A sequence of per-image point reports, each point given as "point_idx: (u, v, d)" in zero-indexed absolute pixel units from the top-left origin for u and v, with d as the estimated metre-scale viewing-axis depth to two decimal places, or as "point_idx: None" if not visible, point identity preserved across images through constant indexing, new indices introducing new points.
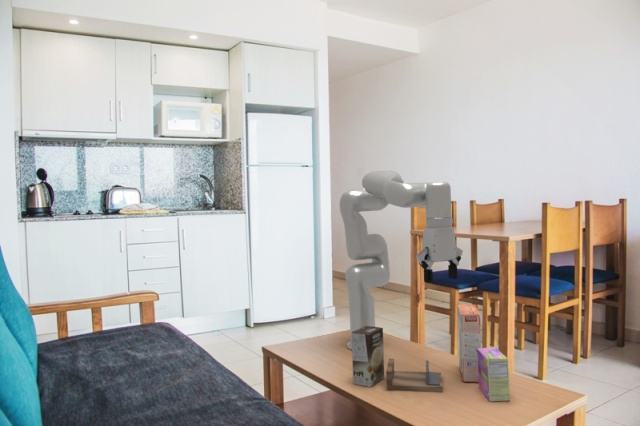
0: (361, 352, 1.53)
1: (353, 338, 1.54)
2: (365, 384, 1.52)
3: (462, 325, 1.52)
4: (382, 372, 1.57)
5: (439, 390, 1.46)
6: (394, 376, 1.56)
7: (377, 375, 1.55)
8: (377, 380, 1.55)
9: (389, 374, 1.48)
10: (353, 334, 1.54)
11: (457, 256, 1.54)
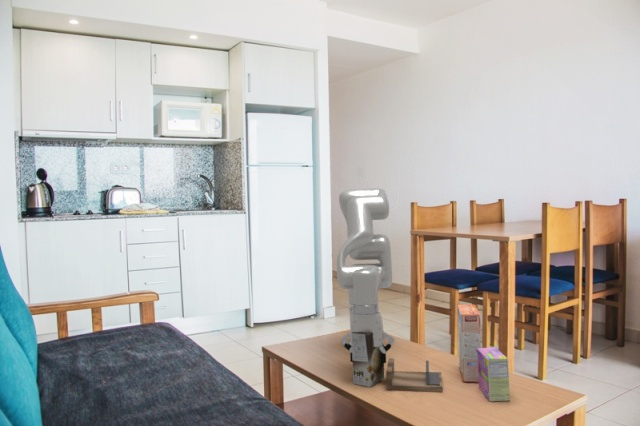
0: (361, 352, 1.53)
1: (353, 338, 1.54)
2: (365, 384, 1.52)
3: (462, 325, 1.52)
4: (382, 372, 1.57)
5: (439, 390, 1.46)
6: (394, 376, 1.56)
7: (377, 375, 1.55)
8: (377, 380, 1.55)
9: (389, 374, 1.48)
10: (353, 334, 1.54)
11: (347, 342, 1.58)
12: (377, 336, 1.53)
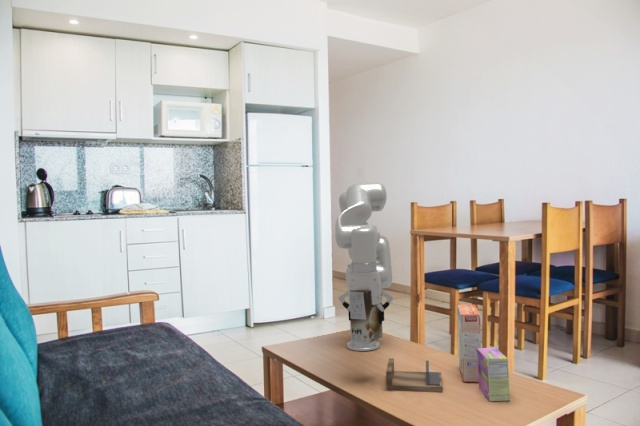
0: (359, 310, 1.53)
1: (351, 296, 1.54)
2: (363, 342, 1.53)
3: (462, 325, 1.52)
4: (380, 330, 1.58)
5: (439, 390, 1.46)
6: (394, 376, 1.56)
7: (375, 333, 1.55)
8: (375, 338, 1.55)
9: (389, 374, 1.48)
10: (351, 293, 1.54)
11: (345, 301, 1.58)
12: (375, 294, 1.53)
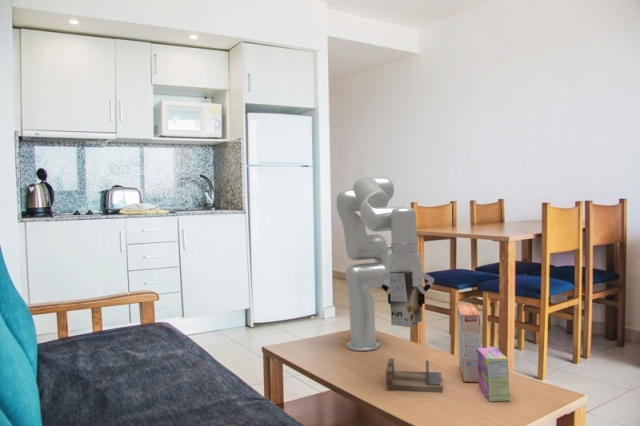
0: (400, 292, 1.49)
1: (391, 278, 1.50)
2: (404, 324, 1.48)
3: (462, 325, 1.52)
4: (420, 313, 1.53)
5: (439, 390, 1.46)
6: (394, 376, 1.56)
7: (416, 316, 1.51)
8: (416, 321, 1.51)
9: (389, 374, 1.48)
10: (391, 274, 1.50)
11: (384, 284, 1.54)
12: (416, 275, 1.49)
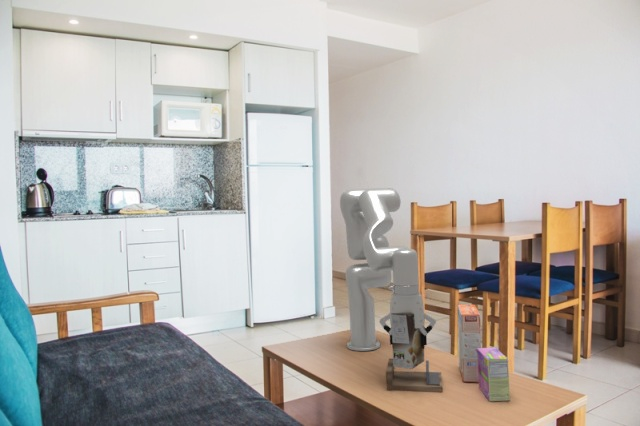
0: (402, 333, 1.49)
1: (393, 320, 1.50)
2: (406, 366, 1.49)
3: (462, 325, 1.52)
4: (422, 354, 1.54)
5: (439, 390, 1.46)
6: (394, 376, 1.56)
7: (418, 357, 1.51)
8: (418, 363, 1.51)
9: (389, 374, 1.48)
10: (393, 316, 1.50)
11: (386, 325, 1.54)
12: (418, 317, 1.49)
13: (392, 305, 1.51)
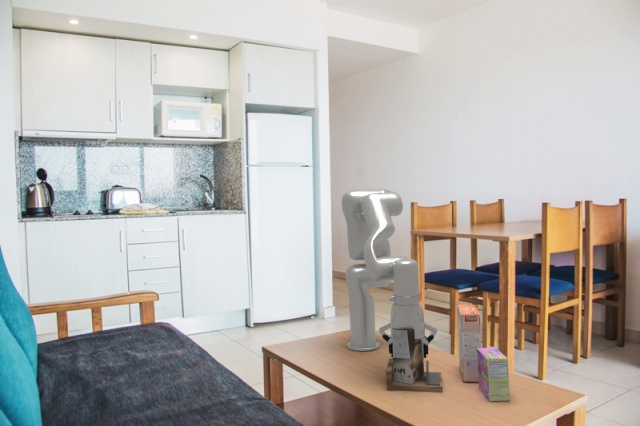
0: (402, 348, 1.49)
1: (394, 334, 1.51)
2: (407, 381, 1.49)
3: (462, 325, 1.52)
4: (422, 368, 1.54)
5: (439, 390, 1.46)
6: None
7: (418, 372, 1.52)
8: (418, 377, 1.52)
9: (389, 374, 1.48)
10: (394, 331, 1.51)
11: (385, 334, 1.55)
12: (419, 328, 1.49)
13: (392, 315, 1.51)
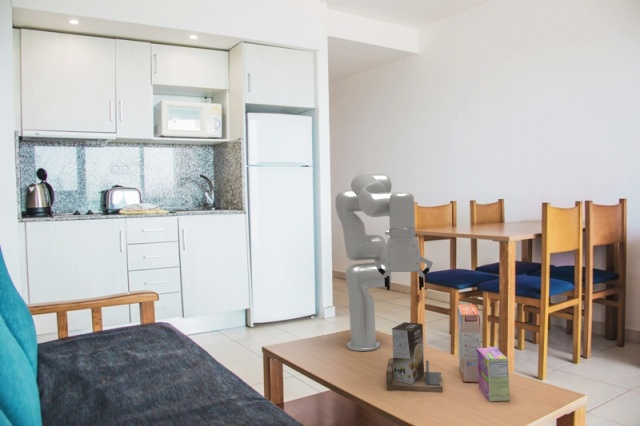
0: (402, 348, 1.49)
1: (394, 334, 1.51)
2: (407, 381, 1.49)
3: (462, 325, 1.52)
4: (422, 368, 1.54)
5: (439, 390, 1.46)
6: None
7: (418, 372, 1.52)
8: (418, 377, 1.52)
9: (389, 374, 1.48)
10: (394, 331, 1.51)
11: (381, 268, 1.55)
12: (414, 260, 1.50)
13: (388, 248, 1.52)
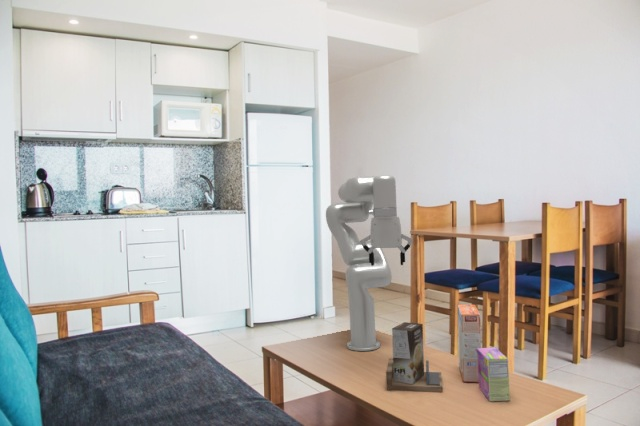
0: (402, 348, 1.49)
1: (394, 334, 1.51)
2: (407, 381, 1.49)
3: (462, 325, 1.52)
4: (422, 368, 1.54)
5: (439, 390, 1.46)
6: None
7: (418, 372, 1.52)
8: (418, 377, 1.52)
9: (389, 374, 1.48)
10: (394, 331, 1.51)
11: (366, 245, 1.69)
12: (396, 237, 1.64)
13: (372, 226, 1.65)
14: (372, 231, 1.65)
